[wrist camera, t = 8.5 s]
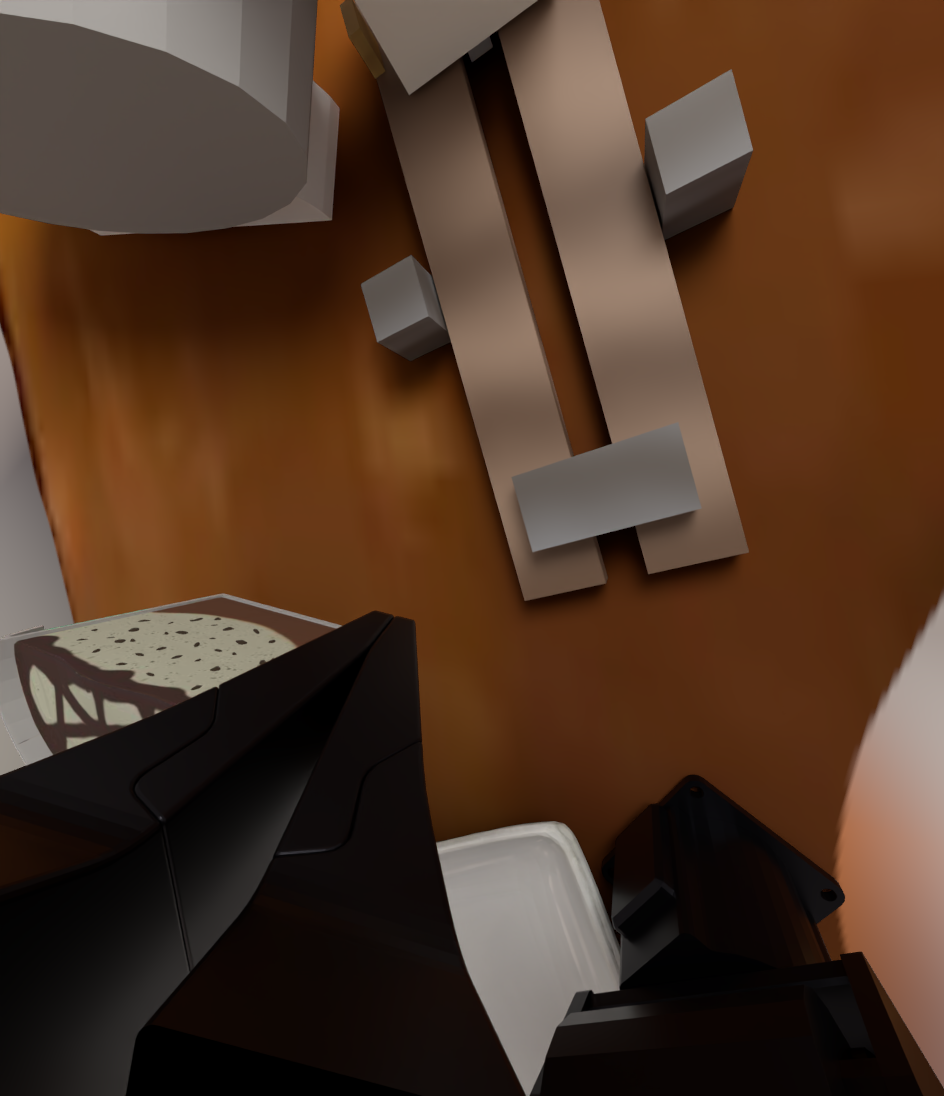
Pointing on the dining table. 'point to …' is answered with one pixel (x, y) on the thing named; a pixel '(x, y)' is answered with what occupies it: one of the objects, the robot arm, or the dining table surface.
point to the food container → (133, 666)
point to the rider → (435, 32)
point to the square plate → (528, 931)
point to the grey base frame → (595, 285)
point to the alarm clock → (163, 115)
